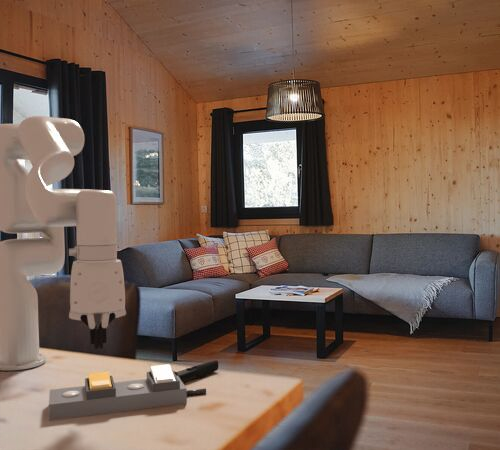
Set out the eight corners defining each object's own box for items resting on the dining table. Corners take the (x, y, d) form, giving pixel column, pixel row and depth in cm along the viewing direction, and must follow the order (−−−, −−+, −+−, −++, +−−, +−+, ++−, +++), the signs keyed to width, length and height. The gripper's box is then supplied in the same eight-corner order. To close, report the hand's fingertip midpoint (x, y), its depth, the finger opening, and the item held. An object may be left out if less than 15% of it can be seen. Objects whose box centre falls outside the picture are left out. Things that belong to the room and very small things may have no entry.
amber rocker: (88, 378, 115) (88, 372, 115) (108, 376, 116) (108, 370, 116) (90, 393, 108) (90, 386, 108) (111, 391, 109) (111, 384, 109)
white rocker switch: (150, 370, 119) (150, 364, 118) (169, 368, 120) (169, 362, 120) (155, 387, 112) (155, 381, 112) (175, 385, 113) (175, 378, 113)
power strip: (50, 404, 114) (49, 381, 113) (200, 386, 123) (200, 365, 123) (49, 420, 105) (48, 396, 105) (211, 400, 115) (210, 377, 115)
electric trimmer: (222, 374, 134) (222, 360, 134) (172, 389, 122) (172, 375, 122) (211, 371, 136) (211, 358, 136) (161, 386, 125) (161, 372, 125)
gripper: (56, 257, 103) (57, 355, 104) (138, 254, 108) (139, 349, 109) (56, 253, 111) (58, 345, 112) (133, 250, 115) (134, 339, 116)
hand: (98, 347), depth 110 cm, fingers closed
